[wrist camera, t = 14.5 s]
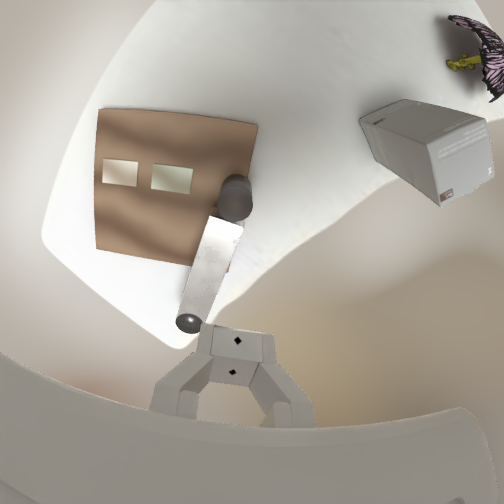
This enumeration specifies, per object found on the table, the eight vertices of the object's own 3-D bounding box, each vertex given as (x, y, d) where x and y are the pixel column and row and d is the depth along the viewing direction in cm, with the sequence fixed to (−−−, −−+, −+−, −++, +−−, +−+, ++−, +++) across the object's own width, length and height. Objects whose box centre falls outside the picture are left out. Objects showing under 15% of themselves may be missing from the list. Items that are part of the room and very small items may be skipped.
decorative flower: (539, 106, 17) (513, 88, 14) (485, 112, 29) (443, 102, 25) (506, 22, 14) (463, -16, 11) (459, 37, 25) (407, 12, 22)
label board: (104, 108, 28) (73, 112, 22) (264, 126, 31) (269, 131, 24) (100, 244, 38) (78, 271, 31) (234, 267, 40) (232, 300, 34)
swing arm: (212, 206, 33) (209, 215, 30) (244, 217, 33) (244, 227, 31) (176, 315, 41) (173, 328, 38) (201, 322, 42) (199, 336, 39)
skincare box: (403, 98, 28) (487, 107, 15) (420, 145, 32) (500, 177, 18) (353, 119, 30) (425, 136, 17) (374, 168, 33) (444, 213, 20)
